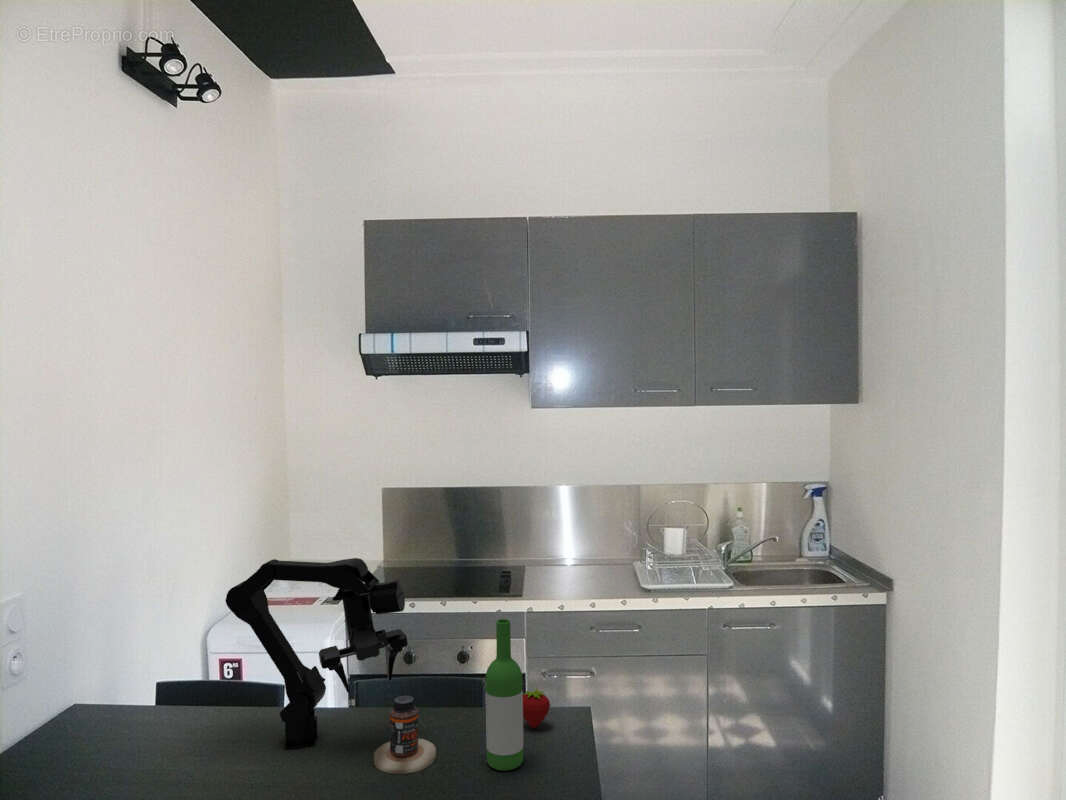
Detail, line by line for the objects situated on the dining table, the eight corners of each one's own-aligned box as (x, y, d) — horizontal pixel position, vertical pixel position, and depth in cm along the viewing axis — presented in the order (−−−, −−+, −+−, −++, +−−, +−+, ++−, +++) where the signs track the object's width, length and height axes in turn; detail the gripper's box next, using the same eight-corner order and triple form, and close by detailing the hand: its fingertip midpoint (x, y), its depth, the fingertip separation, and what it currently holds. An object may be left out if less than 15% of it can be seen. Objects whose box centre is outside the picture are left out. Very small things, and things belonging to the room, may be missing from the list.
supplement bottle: (404, 761, 153) (403, 707, 153) (384, 753, 156) (383, 700, 156) (424, 750, 158) (423, 697, 157) (404, 742, 161) (403, 691, 161)
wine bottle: (489, 774, 150) (487, 627, 149) (484, 756, 157) (482, 616, 157) (526, 770, 151) (525, 625, 151) (519, 752, 159) (518, 613, 158)
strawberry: (519, 721, 174) (518, 679, 173) (551, 722, 173) (550, 680, 173) (516, 733, 168) (515, 689, 168) (549, 734, 167) (549, 690, 167)
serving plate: (375, 777, 149) (375, 771, 149) (372, 747, 162) (372, 741, 162) (439, 768, 152) (439, 762, 152) (432, 739, 165) (431, 734, 165)
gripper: (319, 636, 152) (330, 711, 152) (407, 614, 160) (418, 685, 160) (314, 624, 163) (324, 694, 163) (397, 603, 170) (407, 670, 170)
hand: (369, 686), depth 164 cm, fingers open, 9 cm apart
